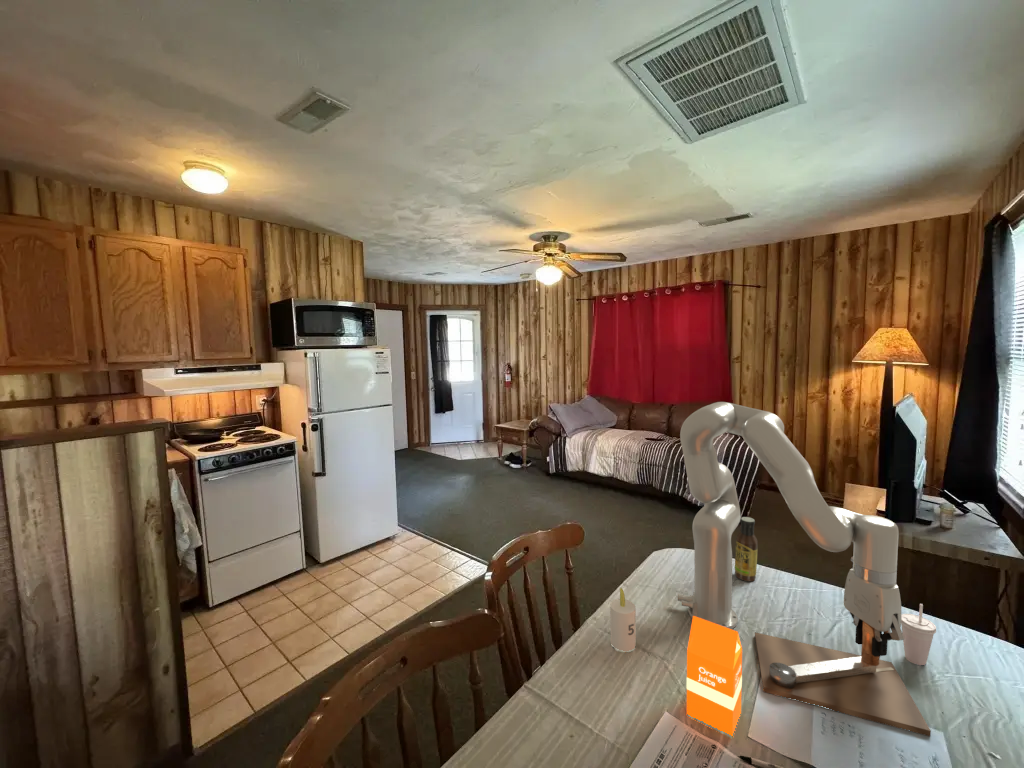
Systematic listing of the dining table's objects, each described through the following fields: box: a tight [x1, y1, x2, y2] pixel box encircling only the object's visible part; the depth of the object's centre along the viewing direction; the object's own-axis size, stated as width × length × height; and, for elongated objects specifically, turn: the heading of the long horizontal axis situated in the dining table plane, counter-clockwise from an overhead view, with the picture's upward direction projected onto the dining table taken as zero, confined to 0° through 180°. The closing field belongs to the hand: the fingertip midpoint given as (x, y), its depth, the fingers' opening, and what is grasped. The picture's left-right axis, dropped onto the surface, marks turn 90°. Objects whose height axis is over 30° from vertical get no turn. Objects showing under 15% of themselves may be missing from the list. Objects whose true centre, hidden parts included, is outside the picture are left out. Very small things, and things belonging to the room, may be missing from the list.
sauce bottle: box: [734, 516, 759, 582], centre depth 139 cm, size 6×6×20 cm
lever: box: [769, 621, 881, 688], centre depth 97 cm, size 26×5×12 cm, turn 97°
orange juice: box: [686, 616, 743, 737], centre depth 88 cm, size 8×9×20 cm
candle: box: [609, 587, 637, 651], centre depth 110 cm, size 6×6×15 cm
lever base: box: [754, 632, 932, 737], centre depth 98 cm, size 28×20×1 cm
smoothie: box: [901, 603, 937, 666], centre depth 102 cm, size 6×6×14 cm
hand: (870, 648), depth 98 cm, fingers closed on lever, 3 cm apart
